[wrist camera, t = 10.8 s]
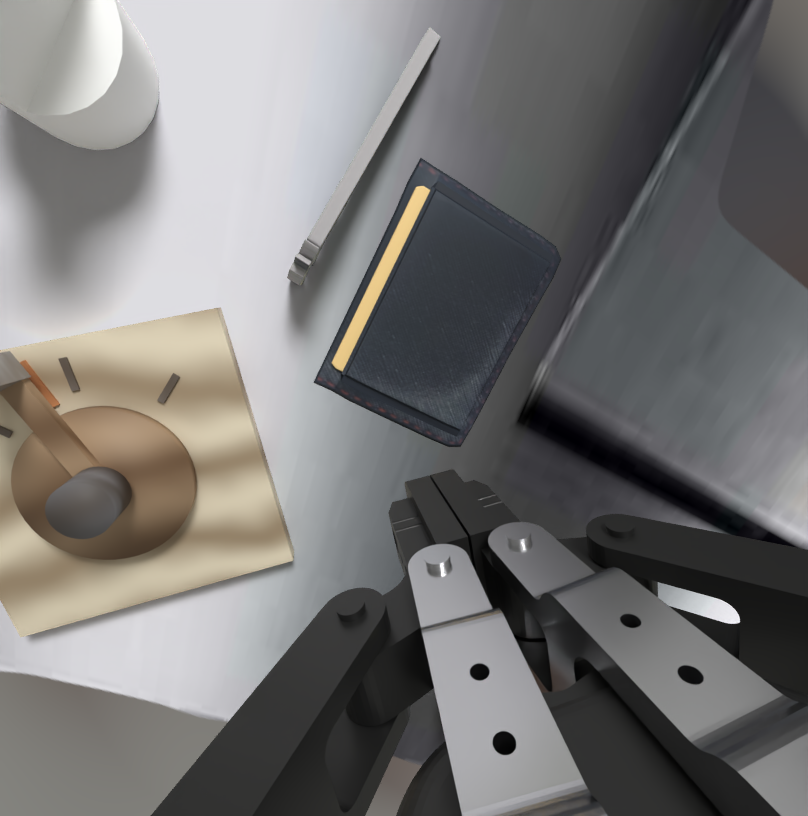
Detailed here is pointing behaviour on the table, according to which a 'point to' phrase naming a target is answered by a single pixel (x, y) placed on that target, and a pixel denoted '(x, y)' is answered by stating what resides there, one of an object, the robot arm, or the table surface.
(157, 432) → the dial
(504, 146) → the table surface
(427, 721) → the table surface
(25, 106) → the cylinder with rectangular tab
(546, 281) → the dark grey flat block
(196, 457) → the dial board
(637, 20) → the table surface
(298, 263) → the caliper
